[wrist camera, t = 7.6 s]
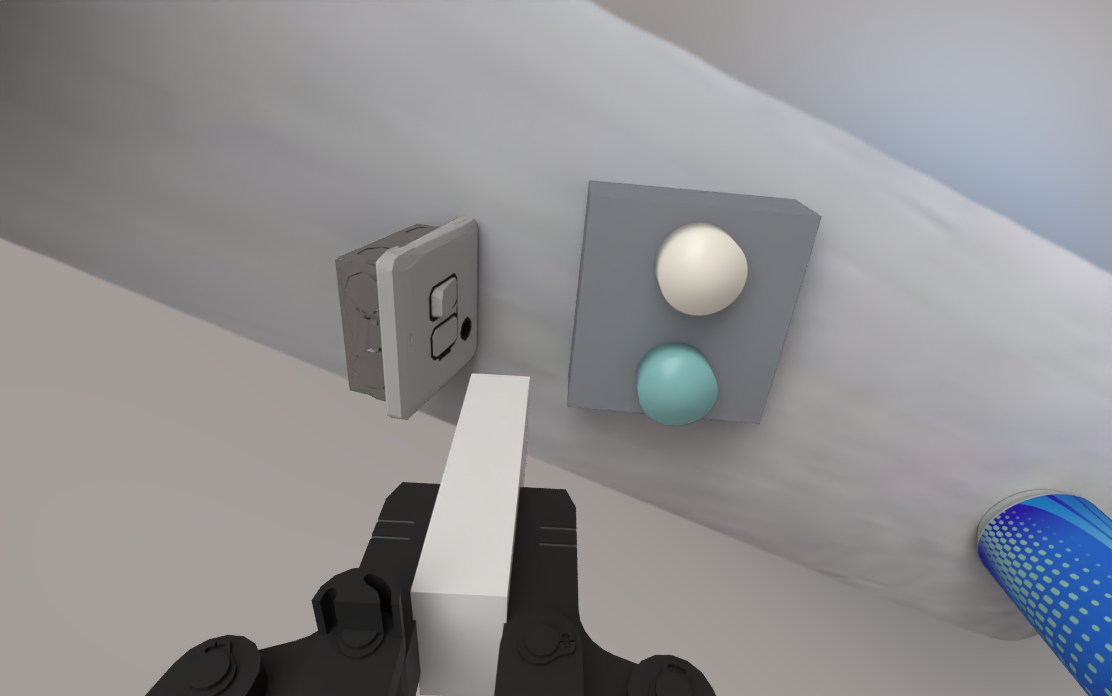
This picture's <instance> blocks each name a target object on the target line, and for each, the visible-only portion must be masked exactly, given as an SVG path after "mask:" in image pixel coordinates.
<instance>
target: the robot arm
mask: <svg viewBox="0 0 1112 696" xmlns="http://www.w3.org/2000/svg"><path fill="white" fill-rule="evenodd" d="M529 383H530V377H525V376H508V375H490V374H473V373H472V374H471V378H470V381H469V385H468V388H467V392H466V395H465V399H464V403H463V406H462V410H461V413H460V417H459V420H458V424H457V428H456V431H455V435H454V438H453V442H452V446H451V449H450V453H449V456H448V460H447V463H446V467H445V471H444V474H443V478H442V481H441V484H427V483H409V482H402V483H401V484H400V485H399V486H398V487H397V488H396V489H395V490H394V491H393V492H392V493H391V494H390V495H389V496H388V497H387V498H386V501H385V503H384V505H383V508H382V510H381V513H380V516H379V518H378V522H377V523H376V526H375V528H374V531H373V533H372V539H370V541H369V544H368V546H367V549H366V551H365V554H364V557H363V559H362V562H361V564H360V567H359V568H353V569H350V570H347V571H345V572H342V573H340V574H338V575H335V576H334V577H333V578H331V579H330V580H329V581H327V582H326V583H325V584H324V585H322V586H321V587H320V589H319V590H318V592H317V593H316V595H315V596H314V598H313V599H312V604H313V609H314V614H315V618H316V622H317V627H318V631H317V632H315V633H313V634H312V635H310V636H307V637H305V638H302V639H299V640H296V641H292V642H288V643H285V644H281V645H276V646H273V647H269V648H264V649H261V650H258V649H257V646H256V644H255V643H254V642H252V641H250V640H249V639H247V638H245V637H244V636H234V635H226V636H221V637H217V638H213V639H209V640H207V641H205V642H203V643H201V644H199V645H198V646H196V647H194V648H192V649H190V650H189V651H188V652H186V653H185V654H184V655H183V656H182V657H181V658H180V659H179V660H177V661H176V662H175V663H174V664H173V665H172V666H171V667H170V668H169V669H168V671H167V672H166V673H165V674H164V675H163V676H162V677H161V678H160V680H159V681H158V682H157V683H156V684H155V685H154V686H153V687H152V688H151V690H150V691H149V692H148V693H147V694H146V695H145V696H416V692H417V687H418V683H419V687H420V695H437V696H716V695H715V693H714V690H713V688H712V687H711V685H710V684H709V682H708V681H707V679H706V678H705V676H704V675H703V674H702V672H701V671H699V670H698V669H697V668H696V667H694V666H693V665H692V664H691V663H689V662H688V661H686V660H683V659H681V658H678V657H675V656H673V655H654V656H652V657H649V658H647V659H645V660H642V661H641V662H640V663H639V664H636V663H633V662H631V661H628V660H626V659H623V658H620V657H618V656H615V655H613V654H611V653H609V652H607V651H605V650H603V649H602V648H600V647H599V646H598V645H597V644H596V643H594V642H593V641H592V640H591V638H590V637H589V636H588V634H587V633H586V632H585V630H584V628H583V626H582V624H581V621H580V616H579V610H578V573H577V533H576V507H575V505H574V503H573V502H572V500H571V498H570V496H569V494H568V493H567V491H566V489H565V490H564V489H546V488H528V487H524V477H525V467H526V451H527V429H528V406H529Z"/></svg>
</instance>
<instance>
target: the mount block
mask: <svg viewBox="0 0 1112 696" xmlns="http://www.w3.org/2000/svg"><path fill="white" fill-rule="evenodd" d="M821 217H822V216H820V215H818V214H817V213H815V212H814V211H812V210H811V209H809V208H808V207H806V206H804V205H803V204H801V203H800V202H798V201H797V200H794V199H784V198H773V197H762V196H751V195H740V194H729V193H718V192H708V191H697V190H686V189H675V188H664V187H653V186H643V185H632V184H621V183H610V182H599V181H589V188H588V198H587V207H586V216H585V226H584V235H583V244H582V253H581V263H580V272H579V281H578V291H577V300H576V309H575V319H574V328H573V337H572V347H571V356H570V365H569V374H568V405H567V407H577V408H588V409H599V410H610V411H621V412H632V413H644V414H646V413H645V412H644V411H643V409H642V407H641V405H640V402H639V397H638V391H637V385H636V378H635V375H636V369H637V366H638V364H639V362H640V361H641V359H642V358H643V357H644V355H645V354H646V353H648V352H649V351H650V350H651V349H653V348H655V347H657V346H659V345H662V344H666V343H673V342H677V343H685V344H689V345H691V346H693V347H695V348H697V349H698V350H700V351H701V352H702V353H703V354H704V356H705V357H706V358H707V360H708V362H709V365H710V367H711V369H712V372H713V374H714V376H715V379H716V382H717V386H718V393H717V398H716V401H715V403H714V405H713V407H712V408H711V409H710V411H709V412H708V413H707V414H706V415H704V416H703V417H702V418H700V419H710V420H721V421H733V422H744V423H755V424H760V420H761V417H762V414H763V410H764V407H765V404H766V400H767V397H768V394H769V390H770V387H771V384H772V380H773V377H774V374H775V370H776V367H777V364H778V360H779V357H780V354H781V350H782V347H783V344H784V340H785V337H786V334H787V330H788V327H789V324H790V320H791V317H792V314H793V310H794V307H795V304H796V300H797V297H798V294H799V290H800V287H801V284H802V280H803V277H804V274H805V270H806V267H807V264H808V260H809V257H810V254H811V250H812V247H813V244H814V240H815V237H816V234H817V230H818V227H819V224H820V220H821ZM697 222H704V223H710V224H713V225H716V226H718V227H720V228H722V229H723V230H724V231H726V232H727V233H728V234H729V235H730V237H731V238H732V239H733V240H734V241H735V242H736V244H737V245H738V246H739V247H740V248H741V250H742V251H743V253H744V255H745V258H746V261H747V268H748V270H747V279H746V282H745V285H744V287H743V289H742V291H741V293H740V294H739V296H738V297H737V298H736V299H735V300H734V301H733V302H732V303H731V304H730V305H728V306H727V307H726V308H724V309H722V310H720V311H718V312H715V313H712V314H708V315H700V316H699V315H689V314H686V313H683V312H680V311H678V310H677V309H675V308H674V307H672V306H671V305H670V304H669V303H668V302H667V300H666V299H665V297H664V296H663V294H662V291H661V289H660V286H659V283H658V280H657V277H656V274H655V265H654V264H655V257H656V253H657V251H658V248H659V247H660V245H661V243H662V242H663V240H664V239H665V238H666V237H667V236H668V235H669V234H670V233H671V232H673V231H674V230H676V229H677V228H679V227H681V226H684V225H686V224H690V223H697Z"/></svg>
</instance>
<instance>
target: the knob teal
mask: <svg viewBox="0 0 1112 696" xmlns="http://www.w3.org/2000/svg"><path fill="white" fill-rule="evenodd" d="M635 378H636V385H637V391H638V397H639V402H640V405H641V407H642V409H643V411H644V412H645V413H646V414H647V415H648V416H649V417H650V418H651V419H653V420H655V421H656V422H659V423H661V424H665V425H671V426H679V425H686V424H689V423H692V422H695V421H697V420H699V419H700V418H702V417H703V416H704V415H706V414H707V413H708V412H709V411H710V409H711V408H712V407H713V405H714V403H715V401H716V398H717V393H718V386H717V382H716V379H715V376H714V374H713V372H712V369H711V367H710V365H709V362H708V360H707V358H706V357H705V356H704V354H703V353H702V352H701V351H700V350H698V349H697V348H695V347H693V346H691V345H689V344H685V343H677V342H673V343H666V344H662V345H659V346H657V347H655V348H653V349H651V350H650V351H649V352H648V353H646V354H645V355H644V357H643V358H642V359H641V361H640V362H639V364H638V366H637V369H636V375H635Z"/></svg>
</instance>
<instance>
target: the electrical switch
mask: <svg viewBox="0 0 1112 696" xmlns="http://www.w3.org/2000/svg"><path fill="white" fill-rule="evenodd" d="M412 239H413V240H412ZM338 258H339V259H343V260H338V259H337V260H335V261H336V270H337V279H338V288H339V297H340V306H341V315H342V324H343V333H344V342H345V351H346V360H347V369H348V378H349V387H350V390H351V391H356V392H360V393H364V394H368V395H371V396H372V397H374V398H376V399H378V400H382V401H386V408H387V416H389V417H391V418H397V419H405V420H408V419H409V418H410V417H411V416H412V415H413V414H414V413H415V412H416V411H417V410H418V409H419V408H420V407H421V406H422V405H423V404H424V403H426V402H427V401H428V400H429V399H430V398H431V397H432V396H433V395H434V394H435V393H436V392H437V391H438V390H439V389H440V388H441V387H442V386H443V385H444V384H445V383H446V382H447V381H448V380H449V379H450V378H452V377H453V376H454V375H455V374H456V373H457V372H458V371H459V370H460V369H461V368H462V367H463V366H464V365H465V364H466V363H467V362H468V361H469V360H470V359H471V358H472V357H473V356H474V353H475V350H476V348H477V277H478V224H477V222H476V221H475V219H472V218H467V217H457V218H455V219H454V220H452V222H450V223H447V224H445V225H444V226H442V227H432V226H427V225H421V224H416V225H413V226H411V227H409V228H406V229H404V230H402V231H399V232H397V233H394V234H392V235H390V236H387V237H385V238H383V239H380V240H378V241H376V242H373V243H371V244H369V245H366V246H364V247H362V248H359V249H357V250H355V251H352V252H350V253H348V254H345V255H343V256H341V257H338ZM344 260H347V261H344ZM349 261H351V262H349ZM373 279H374V280H375V281H374V280H373ZM376 281H377V282H376ZM345 289H346V291H345ZM378 308H379V310H378V311H376V310H377V309H378ZM359 310H361V311H364V312H360V311H359ZM377 320H378V321H377ZM378 323H379V324H378ZM370 348H372V349H373V350H374V351H376V353H374V352H367V351H366V350H368V349H370ZM356 357H357V358H356ZM355 373H356V375H355Z"/></svg>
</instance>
